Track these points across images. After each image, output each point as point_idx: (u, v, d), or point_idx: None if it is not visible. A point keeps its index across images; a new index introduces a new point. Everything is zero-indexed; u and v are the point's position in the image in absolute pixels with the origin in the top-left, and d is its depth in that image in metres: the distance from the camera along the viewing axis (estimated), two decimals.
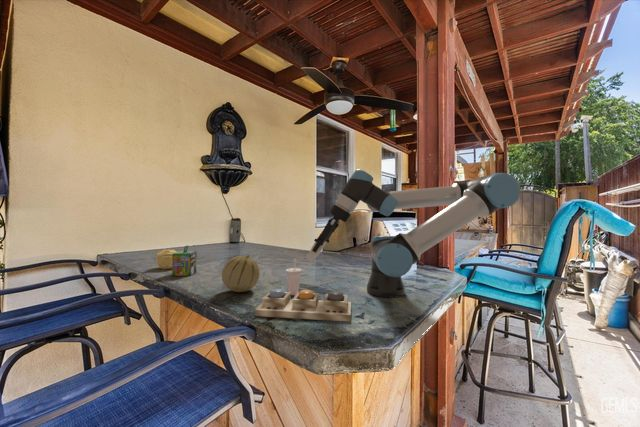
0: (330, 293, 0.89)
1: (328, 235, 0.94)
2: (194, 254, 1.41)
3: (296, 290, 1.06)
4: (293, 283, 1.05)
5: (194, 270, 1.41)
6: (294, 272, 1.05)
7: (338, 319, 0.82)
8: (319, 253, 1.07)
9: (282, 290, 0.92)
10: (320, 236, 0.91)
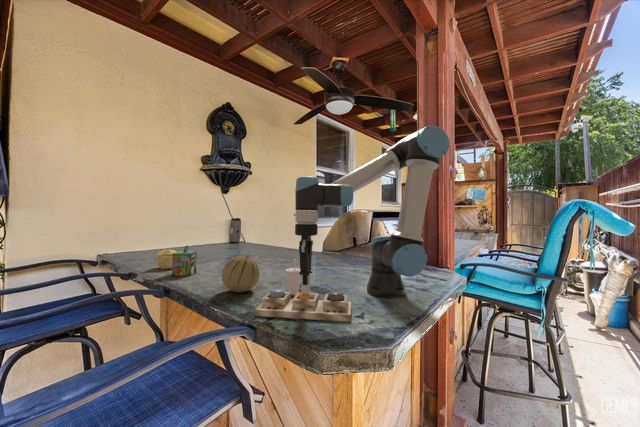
0: (330, 293, 0.89)
1: (308, 261, 0.88)
2: (194, 254, 1.41)
3: (296, 290, 1.06)
4: (293, 283, 1.05)
5: (194, 270, 1.41)
6: (294, 272, 1.05)
7: (338, 319, 0.82)
8: (309, 289, 0.90)
9: (282, 290, 0.92)
10: (301, 269, 0.86)
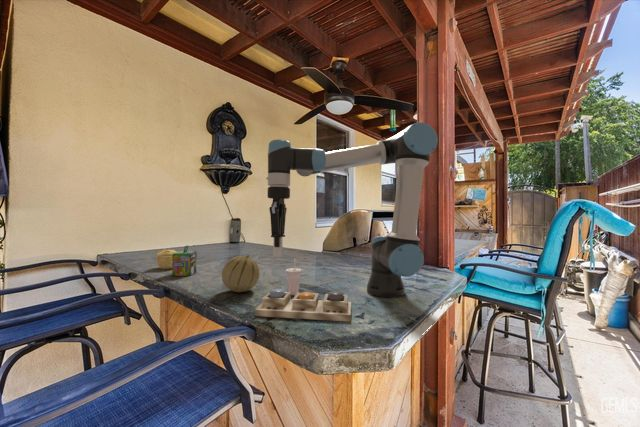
0: (330, 293, 0.89)
1: (280, 224, 0.89)
2: (194, 254, 1.41)
3: (296, 290, 1.06)
4: (293, 283, 1.05)
5: (194, 270, 1.41)
6: (294, 272, 1.05)
7: (338, 319, 0.82)
8: (281, 252, 0.91)
9: (282, 290, 0.92)
10: (272, 230, 0.88)
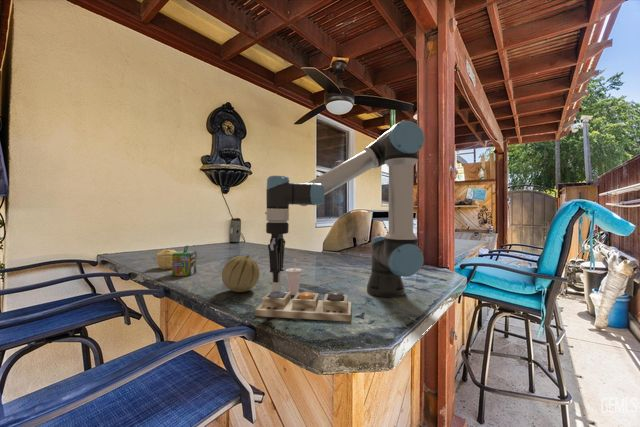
0: (330, 293, 0.89)
1: (278, 259, 0.90)
2: (194, 254, 1.41)
3: (296, 290, 1.06)
4: (293, 283, 1.05)
5: (194, 270, 1.41)
6: (294, 272, 1.05)
7: (338, 319, 0.82)
8: (280, 287, 0.92)
9: (282, 291, 0.92)
10: (271, 267, 0.88)
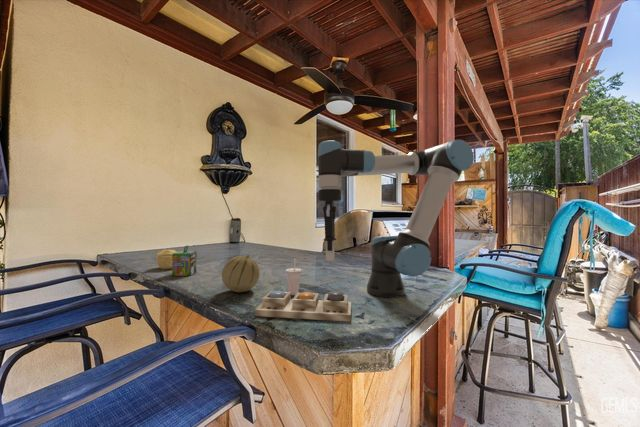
0: (330, 293, 0.89)
1: None
2: (194, 254, 1.41)
3: (296, 290, 1.06)
4: (293, 283, 1.05)
5: (194, 270, 1.41)
6: (294, 272, 1.05)
7: (338, 319, 0.82)
8: None
9: (282, 292, 0.92)
10: (326, 234, 0.86)
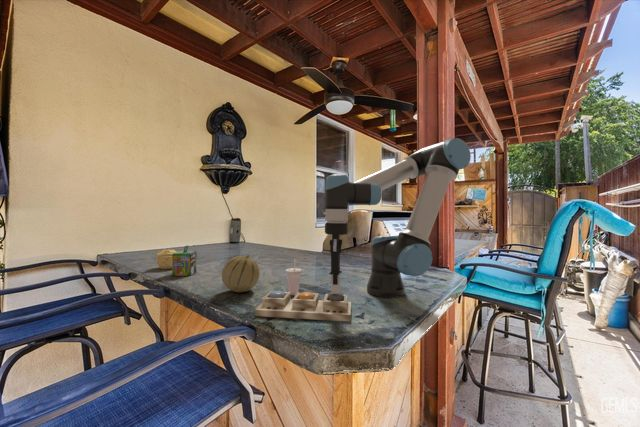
0: (330, 294, 0.89)
1: None
2: (194, 254, 1.41)
3: (296, 290, 1.06)
4: (293, 283, 1.05)
5: (194, 270, 1.41)
6: (294, 272, 1.05)
7: (338, 319, 0.82)
8: (339, 289, 0.89)
9: (282, 292, 0.92)
10: (332, 268, 0.85)
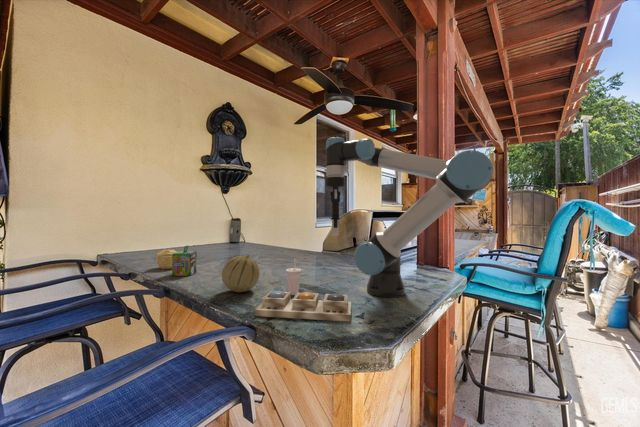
0: (330, 295, 0.89)
1: None
2: (194, 254, 1.41)
3: (296, 290, 1.06)
4: (293, 283, 1.05)
5: (194, 270, 1.41)
6: (294, 272, 1.05)
7: (338, 319, 0.82)
8: (338, 232, 1.08)
9: (282, 292, 0.92)
10: (333, 213, 1.04)
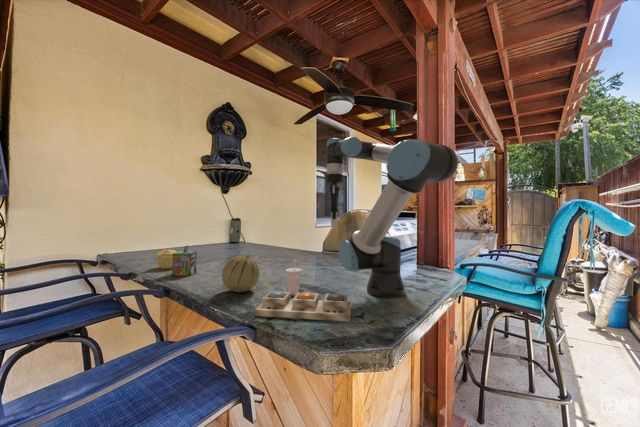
0: (330, 295, 0.89)
1: None
2: (194, 254, 1.41)
3: (296, 290, 1.06)
4: (293, 283, 1.05)
5: (194, 270, 1.41)
6: (294, 272, 1.05)
7: (338, 319, 0.82)
8: None
9: (282, 292, 0.92)
10: (332, 206, 1.18)
